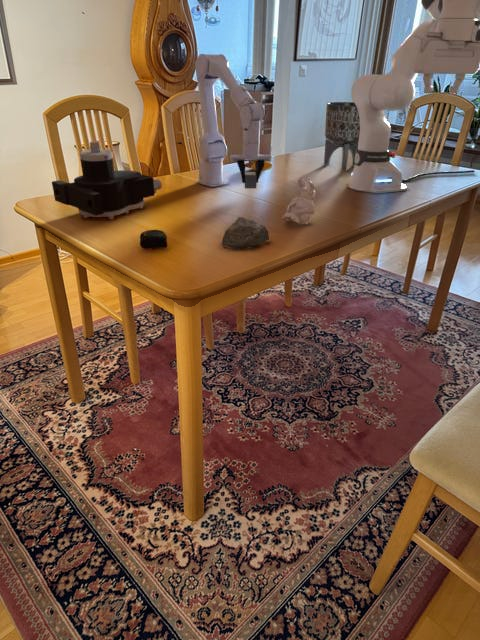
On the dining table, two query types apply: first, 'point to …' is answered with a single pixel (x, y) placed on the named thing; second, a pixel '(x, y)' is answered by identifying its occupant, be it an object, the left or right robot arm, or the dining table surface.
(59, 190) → the mechanical component
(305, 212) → the figurine
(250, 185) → the brick
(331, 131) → the planter
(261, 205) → the dining table surface
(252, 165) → the toy
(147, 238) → the tape measure
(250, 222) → the rock
